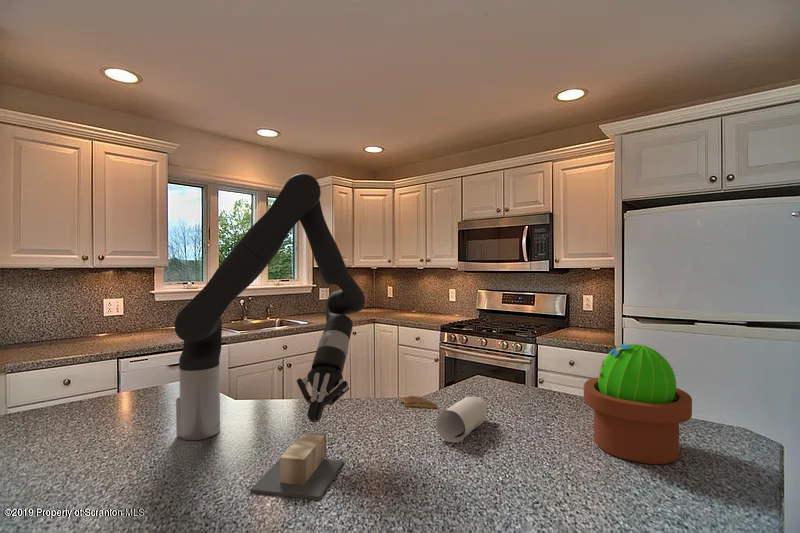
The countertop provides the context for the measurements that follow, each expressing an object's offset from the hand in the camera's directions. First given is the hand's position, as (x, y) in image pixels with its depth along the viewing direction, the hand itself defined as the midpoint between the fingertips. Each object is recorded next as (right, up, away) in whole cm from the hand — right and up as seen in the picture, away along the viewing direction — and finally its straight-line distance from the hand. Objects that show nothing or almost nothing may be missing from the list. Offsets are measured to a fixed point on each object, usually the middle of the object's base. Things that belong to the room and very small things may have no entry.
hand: (313, 420), depth 92 cm
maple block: (0, -6, +1) cm, 6 cm away
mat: (-1, -9, -7) cm, 11 cm away
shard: (+25, -9, +37) cm, 46 cm away
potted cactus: (+74, -9, +6) cm, 75 cm away
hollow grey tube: (+35, -9, +16) cm, 40 cm away
